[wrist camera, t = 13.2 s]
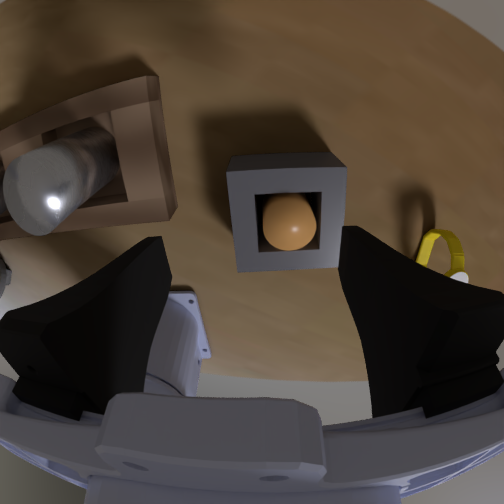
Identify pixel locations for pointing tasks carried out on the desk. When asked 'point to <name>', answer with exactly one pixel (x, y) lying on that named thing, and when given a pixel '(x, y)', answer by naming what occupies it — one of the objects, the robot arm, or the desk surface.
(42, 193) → the steel billet
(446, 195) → the desk surface
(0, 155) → the frame
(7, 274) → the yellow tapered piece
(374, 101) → the desk surface
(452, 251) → the watch
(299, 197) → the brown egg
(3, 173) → the cylinder
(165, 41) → the desk surface
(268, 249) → the button housing
